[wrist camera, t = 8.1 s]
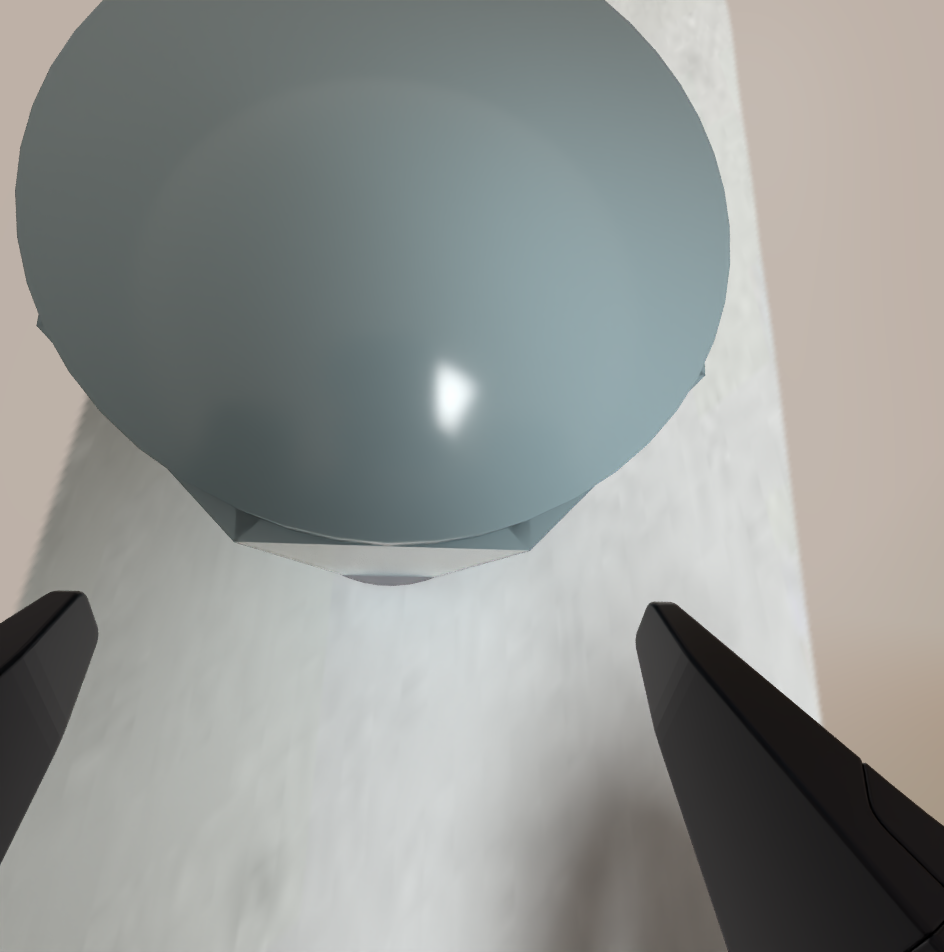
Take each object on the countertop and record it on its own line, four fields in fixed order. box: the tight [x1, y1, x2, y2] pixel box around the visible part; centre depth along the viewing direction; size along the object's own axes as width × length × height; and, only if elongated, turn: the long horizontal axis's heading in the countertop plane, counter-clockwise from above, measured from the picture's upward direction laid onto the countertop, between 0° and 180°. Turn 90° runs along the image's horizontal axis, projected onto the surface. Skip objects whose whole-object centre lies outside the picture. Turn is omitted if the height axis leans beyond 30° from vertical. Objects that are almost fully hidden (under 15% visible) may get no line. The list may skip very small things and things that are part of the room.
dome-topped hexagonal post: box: [15, 0, 730, 577], centre depth 11 cm, size 6×6×13 cm
